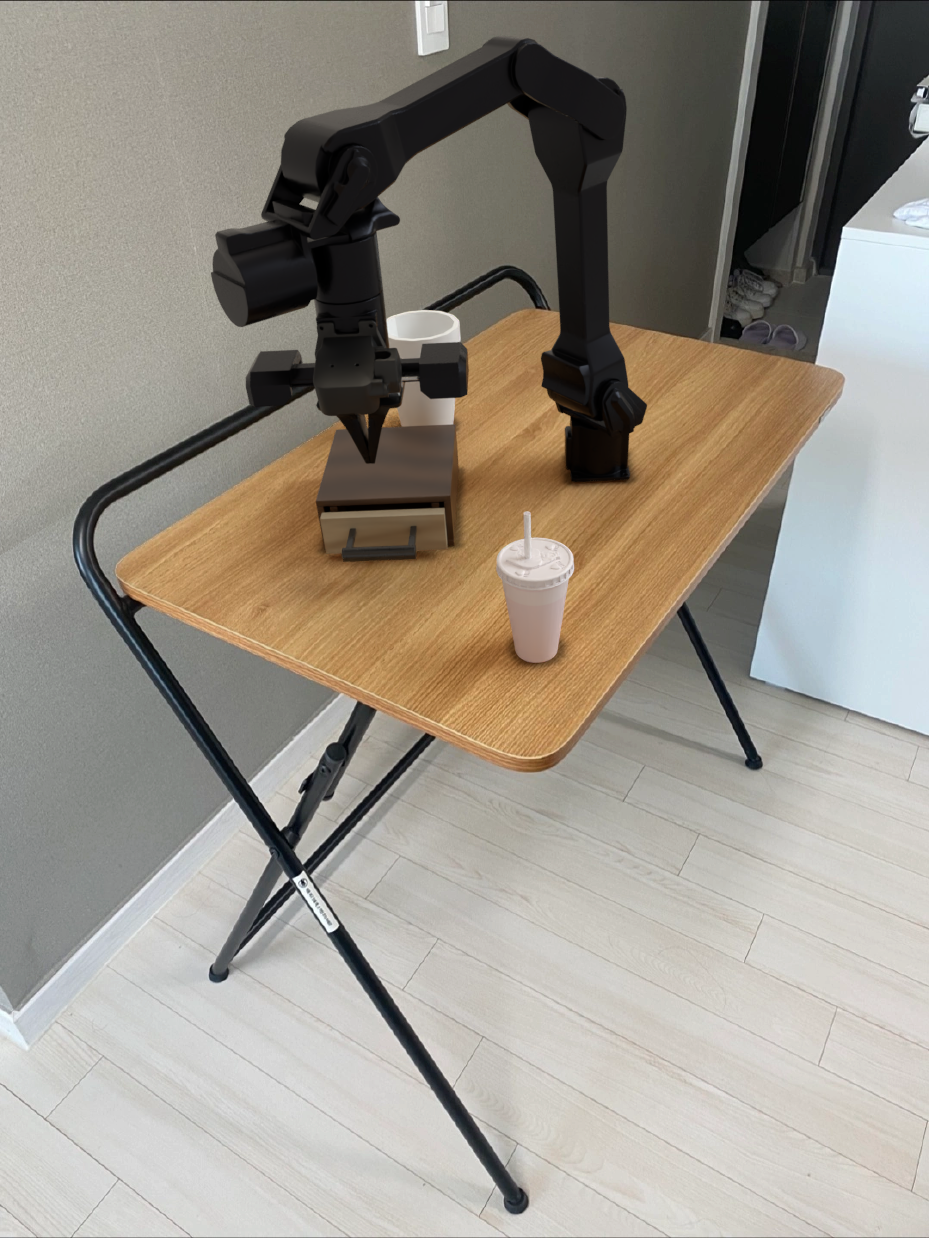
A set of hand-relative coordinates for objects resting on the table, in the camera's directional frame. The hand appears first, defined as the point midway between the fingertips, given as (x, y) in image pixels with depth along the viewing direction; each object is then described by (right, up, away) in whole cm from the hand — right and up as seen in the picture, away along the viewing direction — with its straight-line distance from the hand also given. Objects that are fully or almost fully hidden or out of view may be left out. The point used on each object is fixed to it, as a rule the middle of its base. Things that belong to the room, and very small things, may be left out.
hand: (371, 461), depth 88 cm
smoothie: (+15, -17, -4) cm, 23 cm away
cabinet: (+1, -2, +16) cm, 17 cm away
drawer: (+1, -5, +12) cm, 13 cm away
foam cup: (+4, +9, +31) cm, 33 cm away
